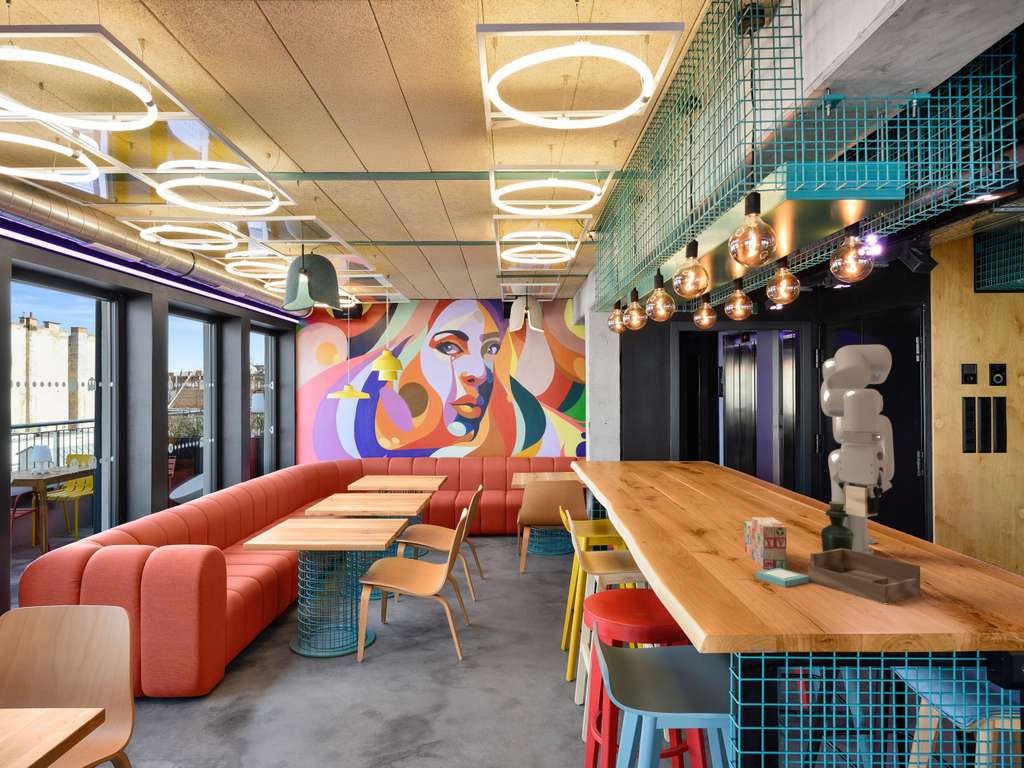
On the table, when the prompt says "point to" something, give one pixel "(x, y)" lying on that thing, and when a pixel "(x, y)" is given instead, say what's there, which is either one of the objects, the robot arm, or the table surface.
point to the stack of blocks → (766, 542)
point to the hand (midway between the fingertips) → (861, 510)
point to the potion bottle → (836, 529)
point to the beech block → (857, 500)
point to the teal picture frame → (782, 577)
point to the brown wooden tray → (865, 575)
